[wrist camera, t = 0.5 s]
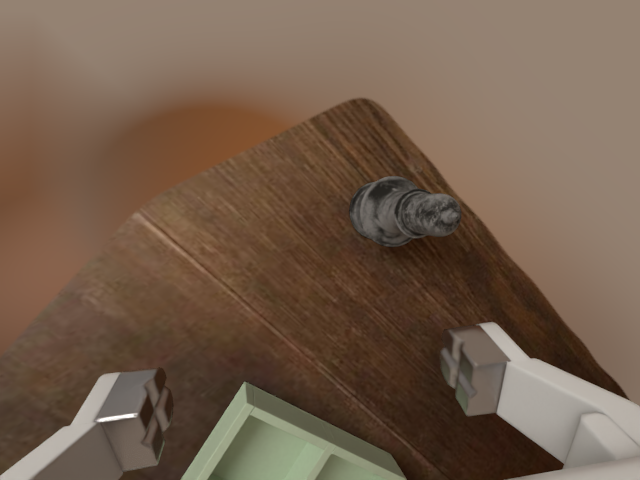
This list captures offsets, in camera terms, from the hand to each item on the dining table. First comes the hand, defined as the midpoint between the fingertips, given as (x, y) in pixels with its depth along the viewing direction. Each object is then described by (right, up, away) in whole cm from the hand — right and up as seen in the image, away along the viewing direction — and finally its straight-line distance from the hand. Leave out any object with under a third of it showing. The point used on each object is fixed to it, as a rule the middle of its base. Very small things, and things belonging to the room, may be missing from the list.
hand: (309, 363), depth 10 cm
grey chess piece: (+6, +6, +22) cm, 24 cm away
